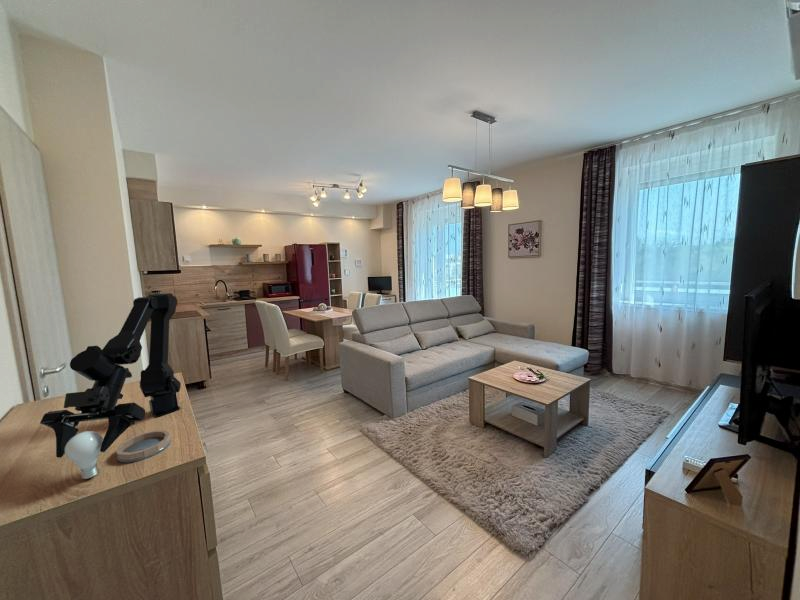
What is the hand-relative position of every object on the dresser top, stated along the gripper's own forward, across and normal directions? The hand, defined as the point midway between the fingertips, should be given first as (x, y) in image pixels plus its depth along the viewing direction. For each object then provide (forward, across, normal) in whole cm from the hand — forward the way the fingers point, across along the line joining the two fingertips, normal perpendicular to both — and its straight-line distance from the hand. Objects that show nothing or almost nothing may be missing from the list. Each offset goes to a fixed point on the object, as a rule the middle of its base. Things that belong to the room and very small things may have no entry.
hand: (80, 454), depth 72 cm
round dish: (-3, +6, +12) cm, 14 cm away
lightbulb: (+4, 0, +6) cm, 7 cm away
